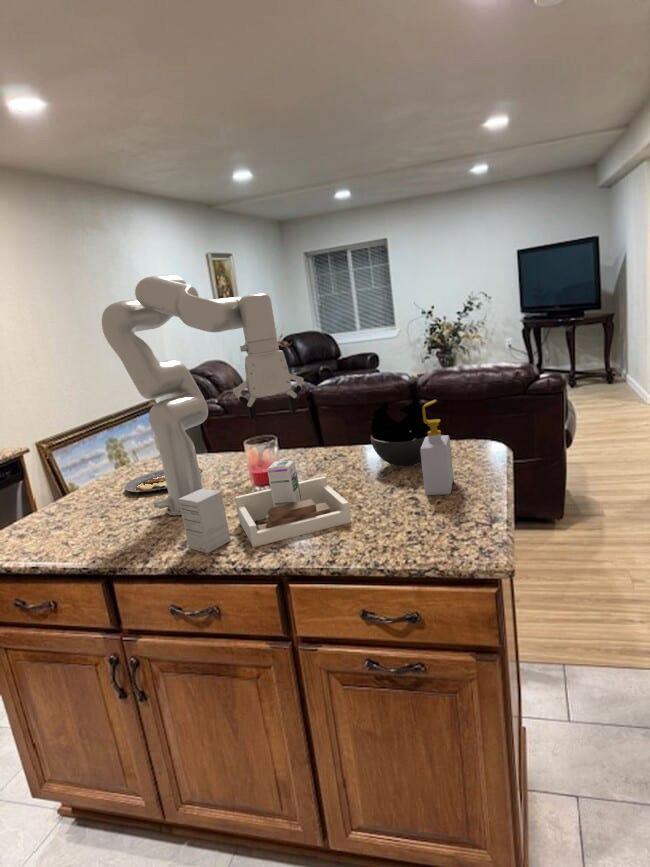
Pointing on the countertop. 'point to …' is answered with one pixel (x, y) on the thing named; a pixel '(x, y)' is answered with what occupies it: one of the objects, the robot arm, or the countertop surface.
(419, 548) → the countertop surface
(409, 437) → the coal bowl
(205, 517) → the supplement box
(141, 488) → the food plate
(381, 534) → the countertop surface
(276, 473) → the syrup box
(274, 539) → the tray
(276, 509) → the offcut pile
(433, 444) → the soap bottle
